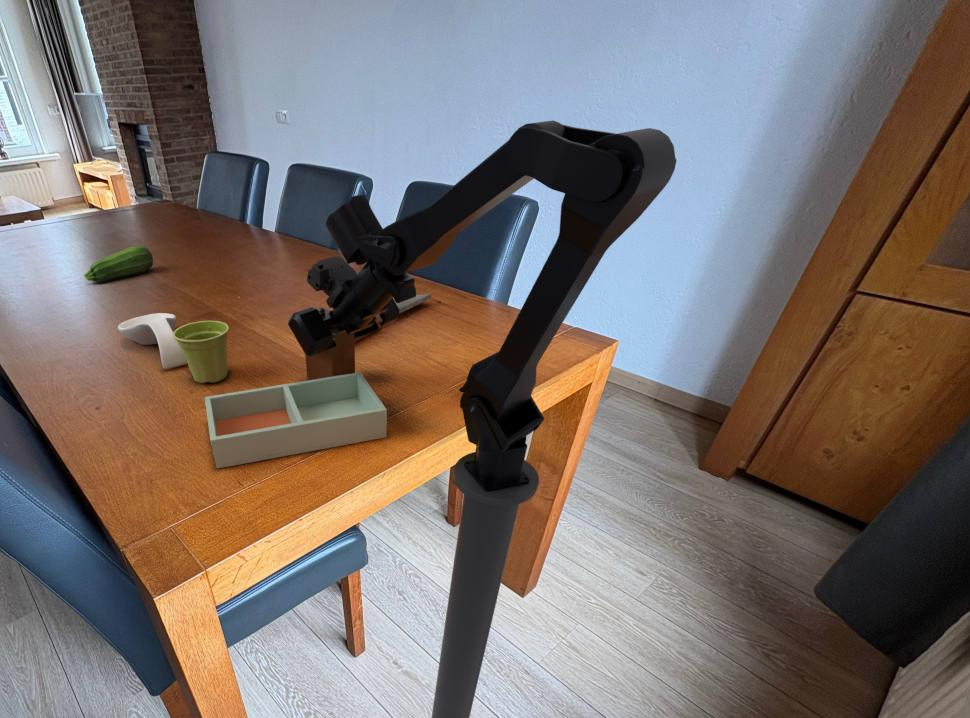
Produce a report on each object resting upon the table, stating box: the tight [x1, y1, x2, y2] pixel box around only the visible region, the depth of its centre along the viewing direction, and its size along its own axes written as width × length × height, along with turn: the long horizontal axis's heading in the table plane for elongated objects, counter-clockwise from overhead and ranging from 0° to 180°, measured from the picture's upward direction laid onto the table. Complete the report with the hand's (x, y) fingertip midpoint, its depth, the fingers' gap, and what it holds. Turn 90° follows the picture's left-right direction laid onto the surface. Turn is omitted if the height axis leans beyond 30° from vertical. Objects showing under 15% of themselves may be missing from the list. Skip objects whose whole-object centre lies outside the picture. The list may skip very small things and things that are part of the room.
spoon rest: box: [117, 312, 188, 370], centre depth 101 cm, size 24×12×7 cm, turn 32°
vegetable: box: [83, 245, 154, 284], centre depth 144 cm, size 7×7×20 cm
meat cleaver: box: [355, 293, 432, 343], centre depth 109 cm, size 34×11×4 cm, turn 140°
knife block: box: [304, 306, 356, 381], centre depth 84 cm, size 5×7×13 cm
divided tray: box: [204, 371, 388, 469], centre depth 75 cm, size 13×24×5 cm, turn 105°
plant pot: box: [173, 320, 230, 384], centre depth 89 cm, size 9×9×9 cm
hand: (324, 344), depth 85 cm, fingers closed on knife block, 5 cm apart
